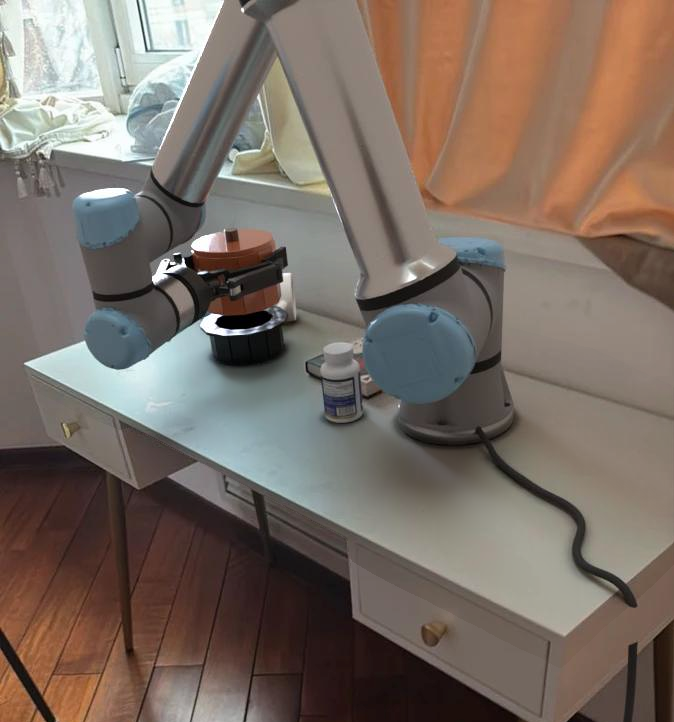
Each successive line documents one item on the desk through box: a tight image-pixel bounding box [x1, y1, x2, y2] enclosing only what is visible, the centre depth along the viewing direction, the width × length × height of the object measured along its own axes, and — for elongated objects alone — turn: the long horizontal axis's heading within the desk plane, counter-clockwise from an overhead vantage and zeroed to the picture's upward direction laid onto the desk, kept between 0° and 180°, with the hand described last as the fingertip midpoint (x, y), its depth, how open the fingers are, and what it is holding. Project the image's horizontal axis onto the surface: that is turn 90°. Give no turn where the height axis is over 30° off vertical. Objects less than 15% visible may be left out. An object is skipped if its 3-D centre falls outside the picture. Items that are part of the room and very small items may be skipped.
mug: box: [274, 272, 297, 323], centre depth 147 cm, size 12×10×8 cm
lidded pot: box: [191, 227, 281, 316], centre depth 127 cm, size 12×12×10 cm
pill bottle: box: [319, 341, 364, 424], centre depth 116 cm, size 5×5×10 cm
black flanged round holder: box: [199, 306, 288, 367], centre depth 139 cm, size 14×14×6 cm
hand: (246, 254), depth 129 cm, fingers closed on lidded pot, 12 cm apart
